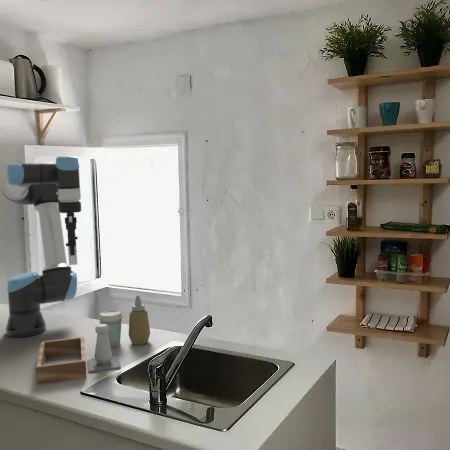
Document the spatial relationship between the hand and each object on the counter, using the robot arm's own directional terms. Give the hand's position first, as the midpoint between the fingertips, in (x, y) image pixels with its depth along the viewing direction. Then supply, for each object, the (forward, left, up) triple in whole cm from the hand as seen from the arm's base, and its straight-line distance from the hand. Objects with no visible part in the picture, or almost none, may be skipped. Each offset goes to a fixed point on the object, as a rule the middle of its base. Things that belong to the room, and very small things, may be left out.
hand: (73, 261), depth 177 cm
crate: (+14, -5, -33) cm, 36 cm away
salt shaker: (+17, +8, -32) cm, 37 cm away
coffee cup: (-2, +12, -33) cm, 35 cm away
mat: (+17, +8, -33) cm, 38 cm away
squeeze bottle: (0, +22, -33) cm, 39 cm away
